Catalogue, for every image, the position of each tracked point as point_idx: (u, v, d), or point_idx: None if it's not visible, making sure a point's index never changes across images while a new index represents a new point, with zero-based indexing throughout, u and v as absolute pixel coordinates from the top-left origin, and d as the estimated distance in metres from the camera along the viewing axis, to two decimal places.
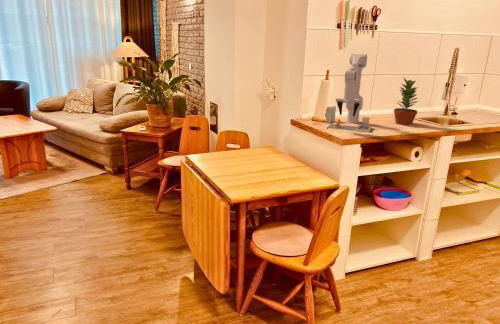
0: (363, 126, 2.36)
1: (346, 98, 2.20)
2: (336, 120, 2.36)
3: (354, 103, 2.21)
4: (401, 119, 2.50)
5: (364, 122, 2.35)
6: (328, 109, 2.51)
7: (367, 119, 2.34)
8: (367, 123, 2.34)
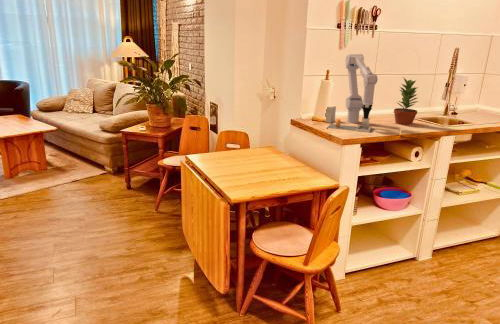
0: (363, 126, 2.36)
1: None
2: (336, 120, 2.36)
3: None
4: (401, 119, 2.50)
5: (364, 122, 2.35)
6: (328, 109, 2.51)
7: (367, 119, 2.34)
8: (367, 123, 2.34)
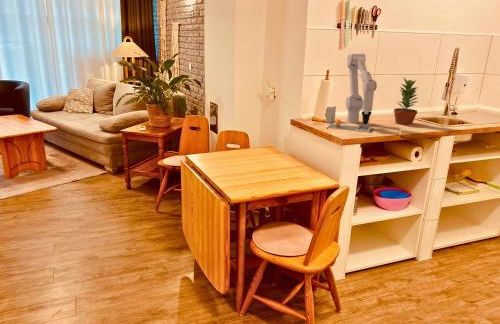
0: (363, 126, 2.36)
1: None
2: (336, 120, 2.36)
3: None
4: (401, 119, 2.50)
5: None
6: (328, 109, 2.51)
7: None
8: (367, 123, 2.34)
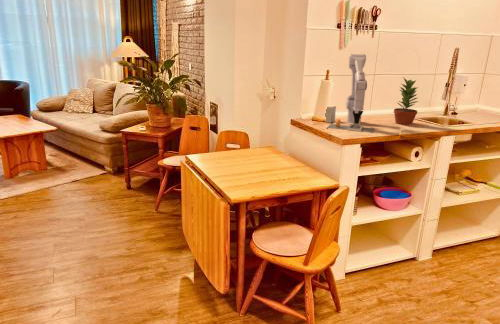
0: (355, 125, 2.38)
1: None
2: (336, 120, 2.36)
3: None
4: (401, 119, 2.50)
5: None
6: (328, 109, 2.51)
7: None
8: (359, 122, 2.36)
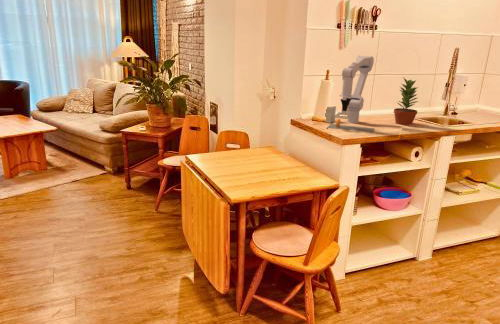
0: (343, 113, 2.38)
1: None
2: (336, 120, 2.36)
3: None
4: (401, 119, 2.50)
5: None
6: (328, 109, 2.51)
7: None
8: (347, 110, 2.36)
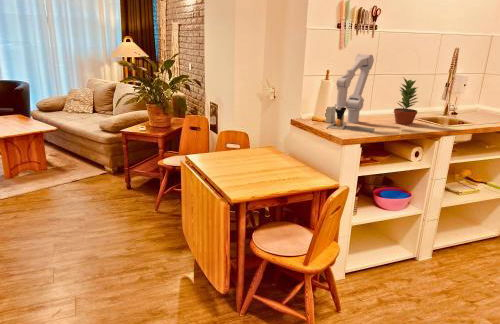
0: None
1: None
2: (336, 120, 2.36)
3: None
4: (401, 119, 2.50)
5: None
6: (328, 109, 2.51)
7: None
8: (342, 120, 2.40)
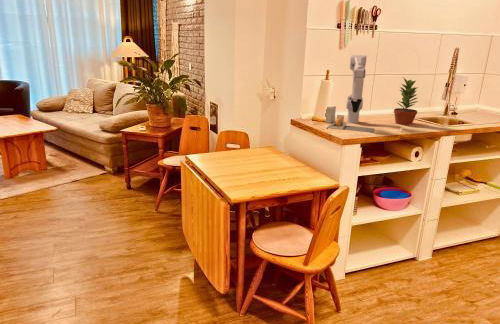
0: None
1: None
2: (336, 120, 2.36)
3: None
4: (401, 119, 2.50)
5: None
6: (328, 109, 2.51)
7: (341, 117, 2.39)
8: (342, 120, 2.40)
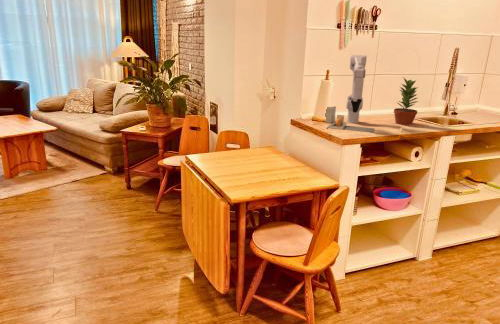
0: None
1: None
2: (336, 120, 2.36)
3: None
4: (401, 119, 2.50)
5: None
6: (328, 109, 2.51)
7: (341, 117, 2.39)
8: (342, 120, 2.40)
